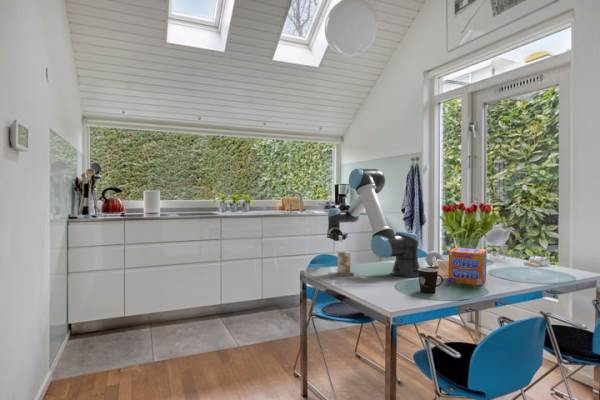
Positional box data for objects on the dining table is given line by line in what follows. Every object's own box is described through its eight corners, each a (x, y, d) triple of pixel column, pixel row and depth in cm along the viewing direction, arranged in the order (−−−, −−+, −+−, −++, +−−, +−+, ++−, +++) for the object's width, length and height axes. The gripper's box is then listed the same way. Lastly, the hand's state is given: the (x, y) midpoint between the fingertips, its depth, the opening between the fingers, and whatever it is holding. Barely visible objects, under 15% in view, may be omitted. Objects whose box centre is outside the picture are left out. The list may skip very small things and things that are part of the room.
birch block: (348, 273, 199) (348, 251, 198) (350, 275, 193) (350, 253, 192) (337, 273, 199) (337, 251, 198) (338, 275, 193) (339, 253, 192)
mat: (356, 273, 201) (356, 269, 201) (362, 280, 185) (362, 275, 185) (327, 273, 200) (327, 269, 200) (331, 280, 184) (331, 275, 184)
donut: (440, 266, 220) (440, 250, 220) (443, 267, 217) (443, 250, 217) (424, 267, 219) (425, 250, 218) (427, 268, 215) (428, 251, 215)
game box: (482, 286, 174) (482, 253, 173) (448, 281, 182) (448, 251, 182) (486, 279, 187) (486, 249, 187) (454, 276, 195) (454, 247, 195)
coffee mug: (414, 289, 168) (414, 267, 167) (432, 289, 168) (432, 267, 168) (425, 296, 156) (425, 273, 156) (444, 296, 157) (444, 273, 156)
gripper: (345, 240, 230) (352, 245, 206) (325, 239, 229) (329, 245, 206) (346, 228, 229) (352, 232, 206) (325, 228, 229) (329, 232, 205)
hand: (340, 239), depth 206 cm, fingers closed
